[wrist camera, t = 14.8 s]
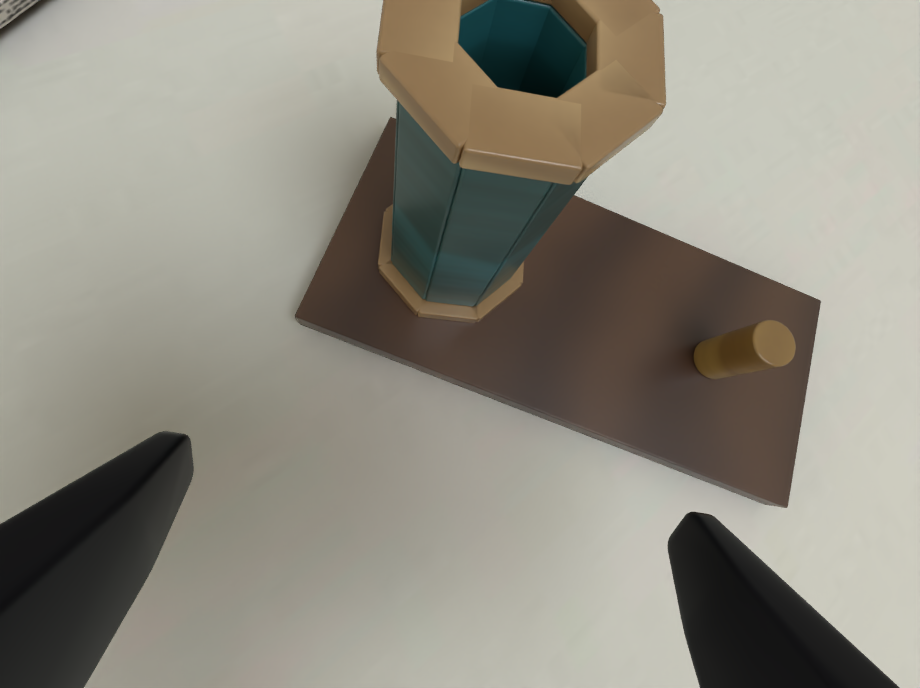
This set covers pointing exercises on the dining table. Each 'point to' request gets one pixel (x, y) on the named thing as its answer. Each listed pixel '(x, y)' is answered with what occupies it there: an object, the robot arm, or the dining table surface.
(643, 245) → the spool stand
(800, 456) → the dining table surface
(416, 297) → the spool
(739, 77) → the dining table surface
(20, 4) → the newspaper
